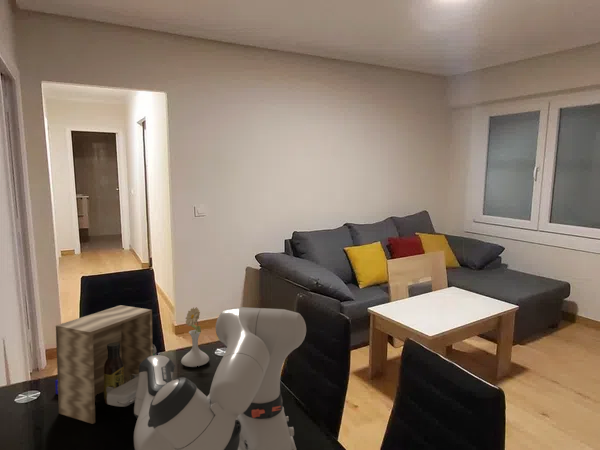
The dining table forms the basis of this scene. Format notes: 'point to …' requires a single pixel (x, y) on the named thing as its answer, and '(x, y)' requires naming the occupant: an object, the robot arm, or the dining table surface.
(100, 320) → the cubby
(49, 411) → the dining table surface
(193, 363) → the flower in vase
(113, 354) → the sauce bottle
